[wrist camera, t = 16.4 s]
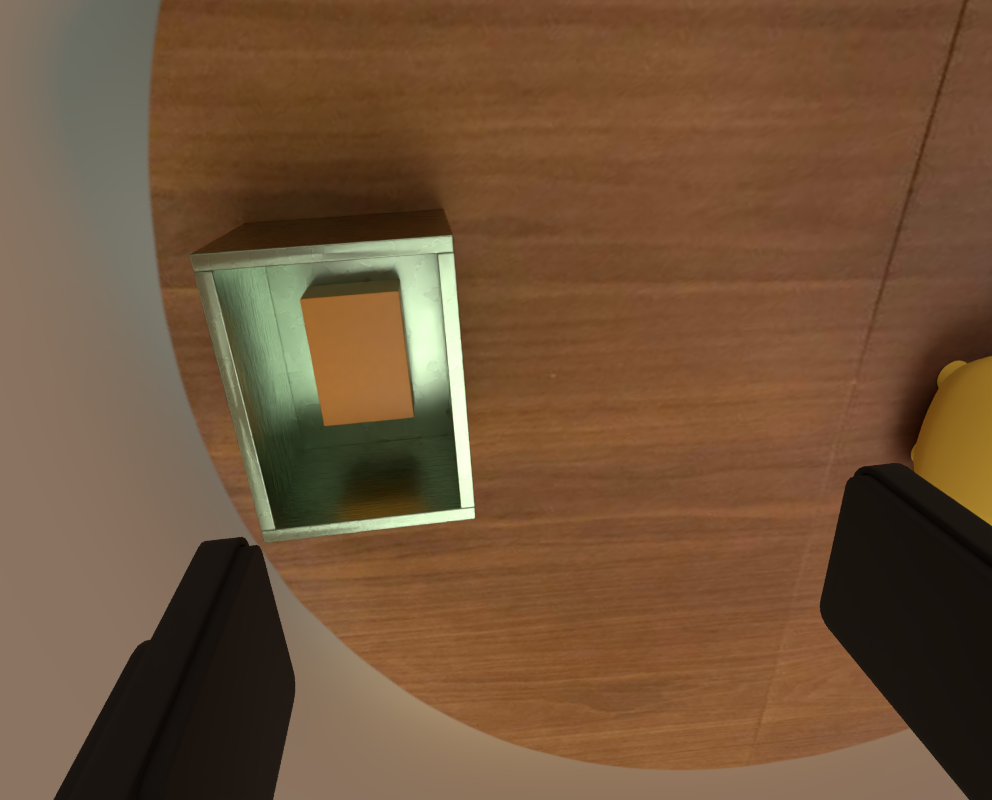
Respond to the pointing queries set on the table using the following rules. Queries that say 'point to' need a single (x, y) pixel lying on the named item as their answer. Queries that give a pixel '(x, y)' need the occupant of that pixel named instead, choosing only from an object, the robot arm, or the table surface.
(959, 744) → the robot arm
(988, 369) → the teapot
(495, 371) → the table surface
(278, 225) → the bin
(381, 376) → the block
